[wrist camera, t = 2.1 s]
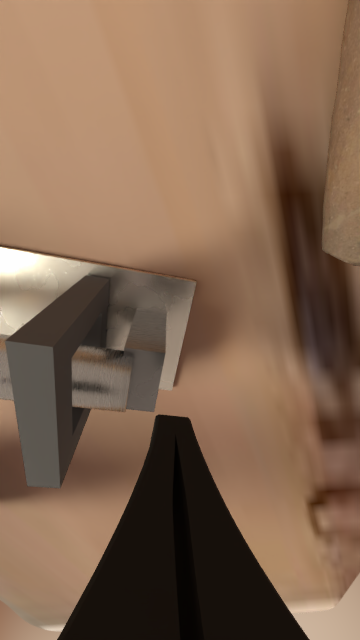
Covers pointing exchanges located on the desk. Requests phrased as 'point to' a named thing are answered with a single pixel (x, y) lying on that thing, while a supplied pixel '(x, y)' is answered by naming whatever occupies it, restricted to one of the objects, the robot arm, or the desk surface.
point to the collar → (54, 377)
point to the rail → (121, 332)
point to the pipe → (345, 152)
